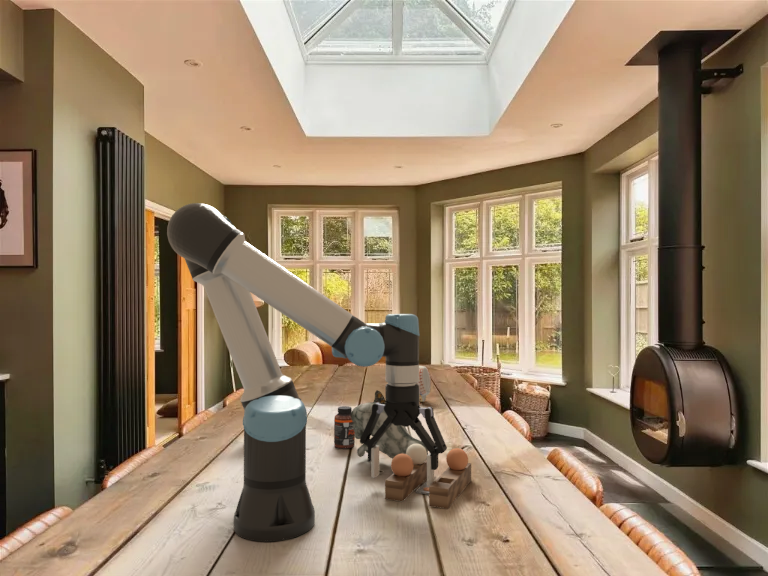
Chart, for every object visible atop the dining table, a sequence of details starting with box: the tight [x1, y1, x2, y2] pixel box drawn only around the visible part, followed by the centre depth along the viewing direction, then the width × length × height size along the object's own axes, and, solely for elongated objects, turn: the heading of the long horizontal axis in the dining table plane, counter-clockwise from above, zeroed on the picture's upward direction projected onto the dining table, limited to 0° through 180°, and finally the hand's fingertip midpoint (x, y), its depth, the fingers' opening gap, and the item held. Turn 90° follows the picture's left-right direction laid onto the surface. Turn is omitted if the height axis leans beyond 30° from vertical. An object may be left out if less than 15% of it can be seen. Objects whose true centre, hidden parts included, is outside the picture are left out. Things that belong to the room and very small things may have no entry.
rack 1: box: [384, 458, 427, 503], centre depth 125 cm, size 19×4×4 cm, turn 156°
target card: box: [415, 480, 429, 496], centre depth 123 cm, size 7×4×1 cm, turn 156°
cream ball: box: [406, 444, 427, 465], centre depth 129 cm, size 5×5×5 cm
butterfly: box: [373, 390, 386, 405], centre depth 187 cm, size 12×10×10 cm
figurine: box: [351, 401, 429, 460], centre depth 140 cm, size 10×19×20 cm
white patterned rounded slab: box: [416, 365, 432, 403], centre depth 224 cm, size 21×6×15 cm, turn 12°
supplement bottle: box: [333, 405, 356, 450], centre depth 157 cm, size 6×6×11 cm
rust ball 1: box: [390, 454, 414, 477], centre depth 121 cm, size 5×5×5 cm
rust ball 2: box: [445, 447, 469, 471], centre depth 125 cm, size 5×5×5 cm
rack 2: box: [428, 462, 472, 510], centre depth 121 cm, size 19×4×4 cm, turn 156°
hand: (402, 480), depth 121 cm, fingers open, 12 cm apart
